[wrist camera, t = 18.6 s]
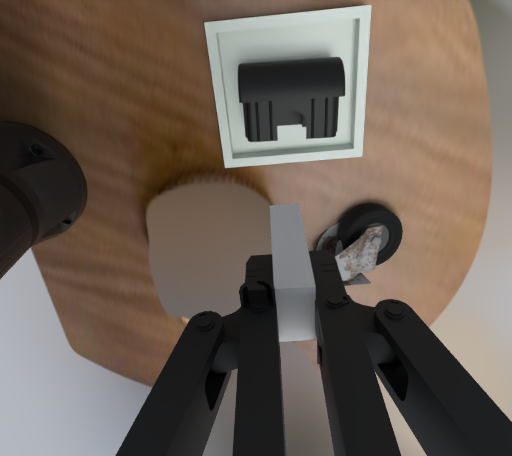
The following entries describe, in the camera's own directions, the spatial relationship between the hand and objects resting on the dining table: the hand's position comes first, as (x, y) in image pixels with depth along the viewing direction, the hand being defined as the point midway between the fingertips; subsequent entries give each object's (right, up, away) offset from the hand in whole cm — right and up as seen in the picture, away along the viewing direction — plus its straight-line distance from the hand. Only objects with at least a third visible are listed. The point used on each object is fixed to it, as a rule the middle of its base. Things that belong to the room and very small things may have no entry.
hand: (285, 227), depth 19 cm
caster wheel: (+12, 0, +31) cm, 33 cm away
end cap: (+2, +15, +21) cm, 26 cm away
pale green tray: (+2, +17, +20) cm, 27 cm away
